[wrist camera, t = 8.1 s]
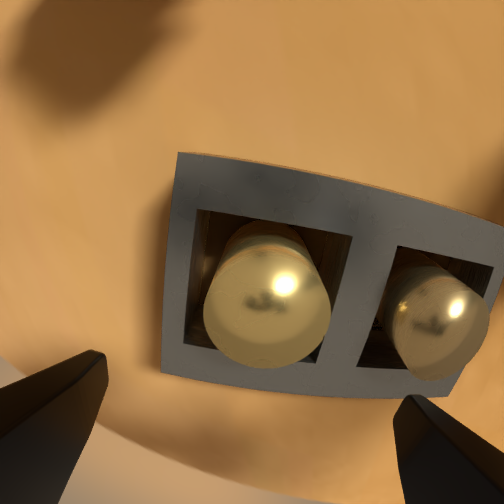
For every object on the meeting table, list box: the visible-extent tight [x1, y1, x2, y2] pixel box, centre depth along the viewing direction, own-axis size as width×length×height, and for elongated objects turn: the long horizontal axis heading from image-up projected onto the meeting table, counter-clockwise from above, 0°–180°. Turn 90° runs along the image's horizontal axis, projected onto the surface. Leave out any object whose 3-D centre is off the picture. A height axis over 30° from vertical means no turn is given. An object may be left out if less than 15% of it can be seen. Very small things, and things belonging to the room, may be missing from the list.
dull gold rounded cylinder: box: [376, 248, 489, 381], centre depth 14 cm, size 4×4×6 cm
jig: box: [161, 152, 504, 399], centre depth 15 cm, size 16×10×4 cm, turn 80°
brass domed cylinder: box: [203, 220, 331, 369], centre depth 14 cm, size 4×4×6 cm
